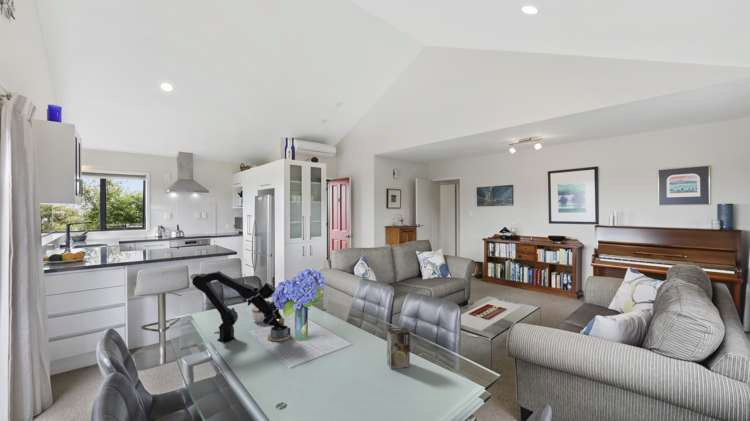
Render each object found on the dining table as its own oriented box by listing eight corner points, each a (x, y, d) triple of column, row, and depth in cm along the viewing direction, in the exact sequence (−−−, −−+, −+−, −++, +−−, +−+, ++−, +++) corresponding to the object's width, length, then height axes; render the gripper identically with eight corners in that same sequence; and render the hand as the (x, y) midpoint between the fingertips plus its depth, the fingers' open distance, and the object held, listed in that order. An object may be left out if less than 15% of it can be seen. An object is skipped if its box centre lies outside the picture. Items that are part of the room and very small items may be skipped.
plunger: (279, 338, 171) (280, 322, 171) (270, 336, 174) (270, 320, 174) (288, 334, 177) (288, 318, 177) (279, 332, 180) (279, 316, 180)
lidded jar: (266, 323, 195) (266, 308, 195) (248, 323, 195) (249, 308, 195) (272, 318, 206) (272, 303, 206) (255, 317, 206) (256, 302, 206)
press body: (280, 343, 168) (280, 333, 168) (262, 338, 173) (263, 329, 173) (295, 335, 178) (295, 326, 178) (278, 331, 184) (278, 322, 184)
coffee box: (404, 360, 151) (405, 327, 151) (409, 367, 145) (410, 332, 145) (386, 363, 149) (387, 328, 149) (390, 369, 143) (391, 333, 143)
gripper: (270, 298, 166) (291, 319, 168) (275, 289, 184) (294, 308, 186) (253, 314, 164) (275, 334, 166) (260, 303, 183) (280, 322, 185)
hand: (282, 324), depth 176 cm, fingers open, 9 cm apart
